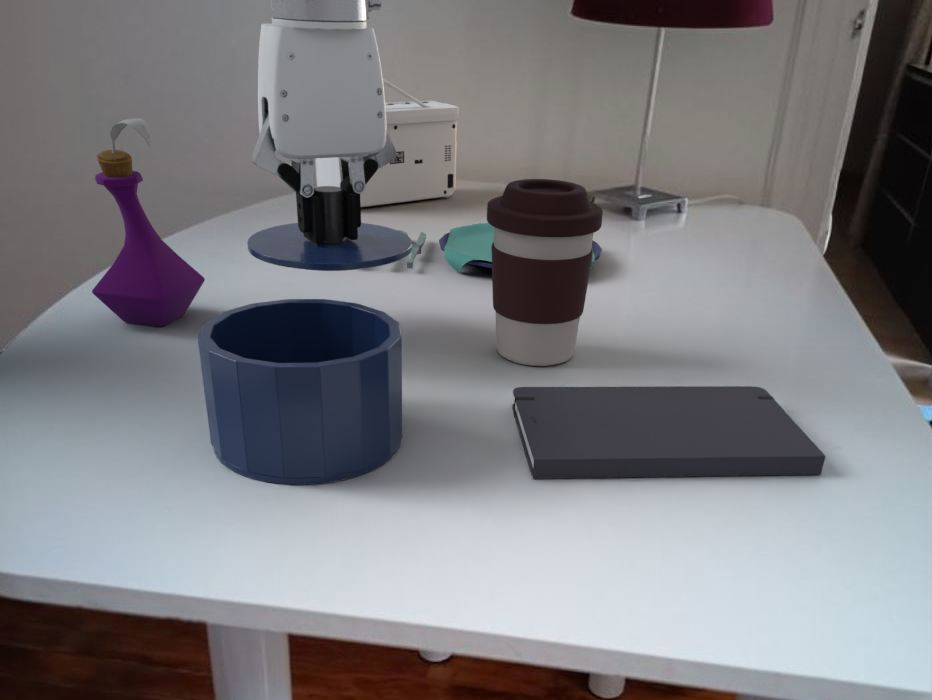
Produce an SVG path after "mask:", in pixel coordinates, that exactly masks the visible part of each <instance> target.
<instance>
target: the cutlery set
mask: <svg viewBox="0 0 932 700" xmlns="http://www.w3.org/2000/svg"><path fill="white" fill-rule="evenodd" d="M396 230H397V231H400V232H402V233H404V234H406V235H407V236H408V237H409V234H408V232H406V231H405V230H399V229H396ZM426 239H427V234H426V233H425V232H423V231H420V233H419V236H418V238H417V240H416V242H415V243H412V251H411V253H410V258H409V261H407V262H406V269H411V270H412V269H414V260H415V258H416V256H417V255H421V254H422V247H424V245H425V242H426V241H427V240H426ZM493 242H494V226H492V225H490V224H489V223H488V222H479V223H473V224H467V225H462V226H459V227H453V228H450V229H449V232H447V233H444V235H442V236H441V238H440V239H439V240H438V244H439V247H440V250H441V251H442V252H444V253H443V254H444V259H445V261H446V262H447V264H448V265H449V266H450V267H451V268H452V269H453V270H455V271H456V273H460V272H461V270H462V268H463V266H464V265H466V264H469V265H474V266H478V267H484V268H489V269H492V243H493ZM591 248H592V250H593V256H592V262H591V268H592V267H593V266H594V264H595V261H597V260H599V259H600V257H601V254H602V253H603V248H602V247H601V246H600V244H599V243H598V242H597V241H595V240H592V246H591Z"/></svg>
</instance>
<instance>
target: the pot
mask: <svg viewBox="0 0 932 700" xmlns="http://www.w3.org/2000/svg"><path fill="white" fill-rule="evenodd" d="M402 339H403V337H402V331H401V324H400V322H398V321H397V320H396V319H394V318H393V317H391V316H390V315H389V314H387V313H386V312H385V311H383V310H380V309H377V308H373V307H369V306H366V305H363V304H360V303H357V302H349V301H341V300H333V299H325V298H288V299H287V298H286V299H277V300H269V301H262V302H254V303H249V304H246V305H243V306H238V307H235V308H232V309H228V310H225V311H222V312H221V313H219V314H217V315H216V316H214V317H213V318H210V319H209V320H208V321H206V322H203V324H202V326H201V329H200V331H199V333H198V336H197V343H198V344H197V345H198V351H199V358H200V367H201V368H200V369H201V374H202V382H203V390H204V392H203V393H204V400H205V407H206V415H207V422H208V423H207V424H208V431H209V440H210V444H211V446H212V447H213V453H214V454H215V457H216V458H217V460H218V461H219V462H220V463H221V464H222V465H223V466H224V467H225V468H227V469H229V471H230V470H231V471H232V472H234V473H236V474H238V475H241V476H243V477H245V478H249V479H252V480H256V481H261V482H266V483H270V484H271V483H273V484H281V485H318V484H327V483H334V482H340V481H345V480H349V479H353V478H356V477H359V476H362V475H365V474H368V473H370V472H372V471H374V470H376V469H379V468H380V467H382V466H384V465H386V463H388V462H390V461H391V460H392V459H393V458H394V457H395V455H396V454H397V453H398V452H399V450H400V448H401V445H402V440H403V353H402V352H403V350H402V349H403V344H402V343H403V342H402V341H403V340H402Z"/></svg>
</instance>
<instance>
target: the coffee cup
mask: <svg viewBox="0 0 932 700" xmlns="http://www.w3.org/2000/svg"><path fill="white" fill-rule="evenodd" d="M603 213H604V210H603V208H602V207H601V206H600V205H599V204H597V203H595V202H593V201H591V200H590V198H589V195H588V191H587V189H586V187H584V186H583V185H581V184H577V183H574V182H571V181H566V180H560V179H548V178H525V179H524V178H523V179H518V180H512V181H510V182H509V183H507V185H506V186H505V188H504V190H503V193H502V195H500V196H496V197H493V198H491V199H490V200H489V201H488V202H487V205H486V222H487V223H489V224H490V225H492V226H494V242H493V243H492V268H491V276H492V277H491V280H492V281H491V282H492V283H491V284H492V285H491V286H492V287H491V288H492V308H493V310H494V312H495V342H496V343H495V347H496V350H497V353H498V354H499V355H500V356H501V357H503V358H505V359H506V360H508V361H510V362H512V363H515V364H520V365H524V366H532V367H533V366H535V367H537V366H538V367H546V366H554V365H559V364H562V363H565V362H567V361H569V360H570V359H571V358H572V357H573V355H574V354H575V350H576V345H577V338H578V331H579V326H580V320H581V316H582V315H583V314H584V310H585V303H586V297H587V291H588V287H589V279H590V274H591V268H592V267H591V262H592V256H593V250H592V248H591V246H592V240H593V239H594V234H595V233H597V232H598V231H599V230H600V229H601V228H602V223H603ZM593 241H594V240H593Z"/></svg>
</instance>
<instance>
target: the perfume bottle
mask: <svg viewBox="0 0 932 700" xmlns="http://www.w3.org/2000/svg"><path fill="white" fill-rule="evenodd" d="M127 126H129V127H131V128H132V129H134V130H135V131H136V132H137V133H138V134H139V135H140V136H141V137H142V138H143V139H144V141H145V143H146V144H147V146H148V147H149V148H150V147H151V145H152V141H153V135H152V132H151V130H150V126H149V125H148V123H147V121H146V120H144V119H142V118H128V119H124V120H121V121H119V122H117V123H115V124H114V125H112V126H111V127H110V128H111V129H110V131H109V136H110V139H111V149H106V150H102V151H101V152H98V154H97V155H96V156H95V158H96V160H97V163H98V164H99V166H100V169H101V172H99V173H97V174H95V175H94V180H95V182H96V184H97V185H99V186H102V187H104V188H105V189H106V191H108V192H109V194H110V195H112V197H113V198H114V200H115V202H116V204H117V206H118V209H119V212H120V214H121V218H122V220H123V224H124V225H123V226H124V232H125V235H124V236H125V237H124V245H123V246H122V248H121V250H120V252H119V254H117V257H116V259H115V260H114V262H113V263H112V264H111V266H110V267H109V269H108V270H107V271H105V274H104V275H103V276H102V277H101V279H99V281H98V283H96V285H95V286H94V288H92V290H91V294H93V295H94V297H96V298H97V299H98V300H99V301H101V302H102V304H104V305H105V306H106V307H107V308H108V309H109V310H110V311H111V312H113V314H115V316H116V317H118V318H119V319H120V320H122V321H123V322H124V323H129V324H136V325H143V326H150V327H157V328H163V327H165V326H167V325H168V324H171V323H172V322H174V321H176V320H178V319H179V318H181V317H182V316H184V315H185V314H186V313H187V311H188V310H189V308H190V305H192V304H193V303H192V302H193V301H194V300H195V298H196V296H197V294H198V293H199V291H200V289H201V288H202V286H203V285H204V282H205V277H204V276H203V275H201V273H199V271H197V270H196V269H195V268H193V266H191V265H190V264H189V263H188V262H187V261H185V260H184V259H183V258H182V257H181V256H180V255H179V254H178V253H177V252H175V250H174V249H172V248H171V247H170V246H169V244H167V243H166V242H165V241H164V240H163V239H162V238H161V237H160V234H158V232H157V231H156V230H155V228H154V227H153V225H152V224H151V222H150V220H149V218H148V217H147V214H146V212H145V211H144V208H143V207H142V205H141V202H140V199H139V196H138V188H139V187H138V186H139V184H140V183H142V182H144V178H143V176H142V174H141V172H139V171H138V170H133V158H132V155H131V154H130V153H128V152H126V151H125V150H120V149H116V141H117V139H118V138H119V136H120V134H121V133H122V132H123V130H125V129H126V127H127Z"/></svg>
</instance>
